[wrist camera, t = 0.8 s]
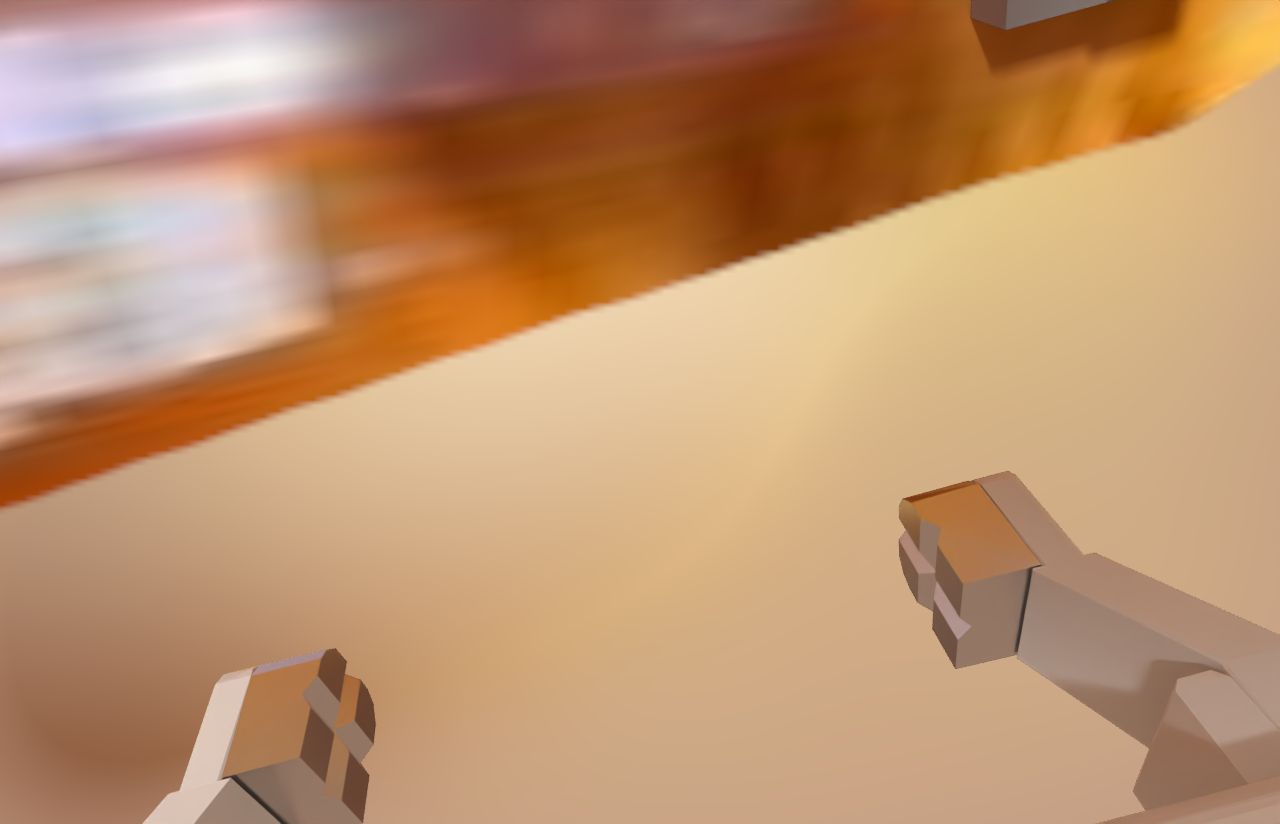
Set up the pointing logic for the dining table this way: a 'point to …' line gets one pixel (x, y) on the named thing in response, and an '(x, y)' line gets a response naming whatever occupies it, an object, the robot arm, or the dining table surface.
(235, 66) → the dining table surface
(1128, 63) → the dining table surface
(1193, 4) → the dining table surface
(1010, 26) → the button box
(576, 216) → the dining table surface
